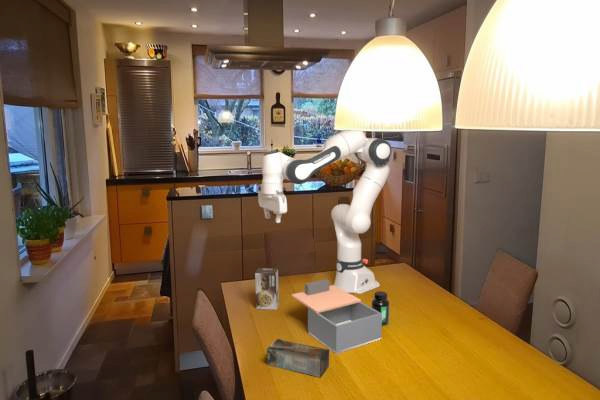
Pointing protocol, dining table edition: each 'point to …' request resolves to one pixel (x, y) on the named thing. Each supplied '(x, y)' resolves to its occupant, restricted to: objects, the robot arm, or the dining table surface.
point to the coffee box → (267, 288)
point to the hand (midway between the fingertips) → (272, 220)
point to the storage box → (345, 327)
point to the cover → (324, 296)
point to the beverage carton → (298, 357)
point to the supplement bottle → (381, 305)
